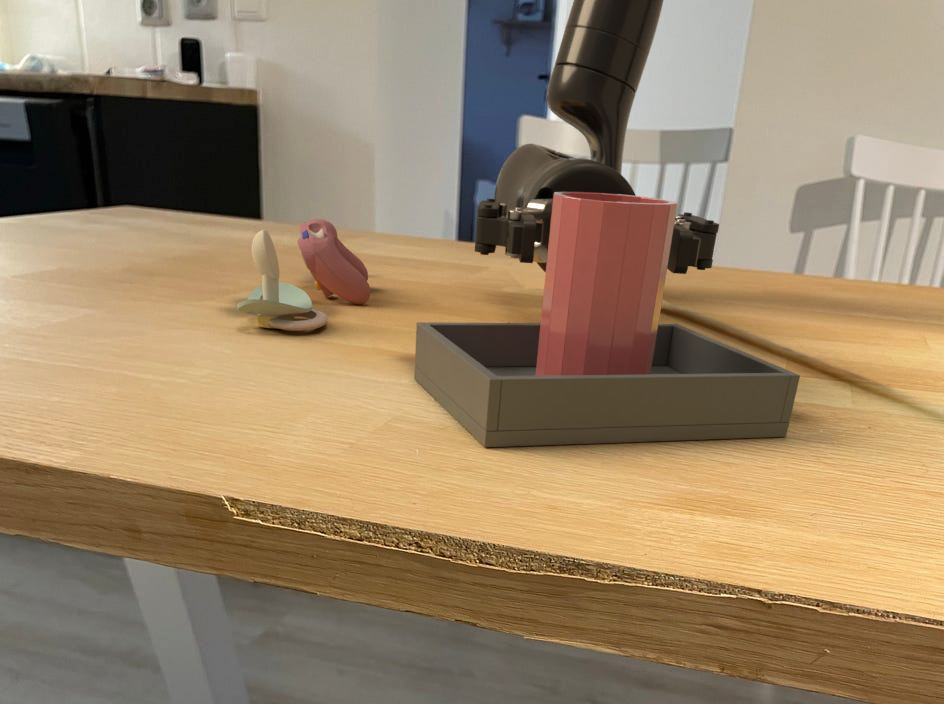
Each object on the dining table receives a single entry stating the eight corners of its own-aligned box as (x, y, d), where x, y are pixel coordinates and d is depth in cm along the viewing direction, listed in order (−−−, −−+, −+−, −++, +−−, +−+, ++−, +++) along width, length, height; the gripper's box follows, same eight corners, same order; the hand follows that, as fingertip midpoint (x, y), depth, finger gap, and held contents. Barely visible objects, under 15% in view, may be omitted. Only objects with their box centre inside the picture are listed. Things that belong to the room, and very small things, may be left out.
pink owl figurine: (326, 302, 85) (288, 224, 82) (372, 280, 85) (336, 201, 81) (324, 324, 77) (282, 238, 73) (375, 300, 76) (335, 213, 73)
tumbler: (615, 377, 57) (641, 194, 52) (665, 406, 52) (699, 206, 47) (518, 378, 55) (535, 189, 50) (559, 408, 50) (583, 201, 45)
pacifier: (333, 320, 71) (253, 312, 71) (336, 231, 68) (252, 222, 68) (320, 341, 65) (232, 332, 65) (322, 243, 62) (230, 233, 62)
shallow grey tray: (668, 375, 62) (677, 323, 60) (786, 436, 51) (800, 375, 49) (414, 379, 57) (416, 322, 55) (484, 447, 46) (489, 379, 44)
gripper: (478, 151, 64) (481, 161, 50) (688, 166, 64) (750, 181, 50) (470, 269, 67) (472, 311, 53) (669, 283, 68) (722, 328, 54)
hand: (607, 248), depth 52 cm, fingers open, 8 cm apart
